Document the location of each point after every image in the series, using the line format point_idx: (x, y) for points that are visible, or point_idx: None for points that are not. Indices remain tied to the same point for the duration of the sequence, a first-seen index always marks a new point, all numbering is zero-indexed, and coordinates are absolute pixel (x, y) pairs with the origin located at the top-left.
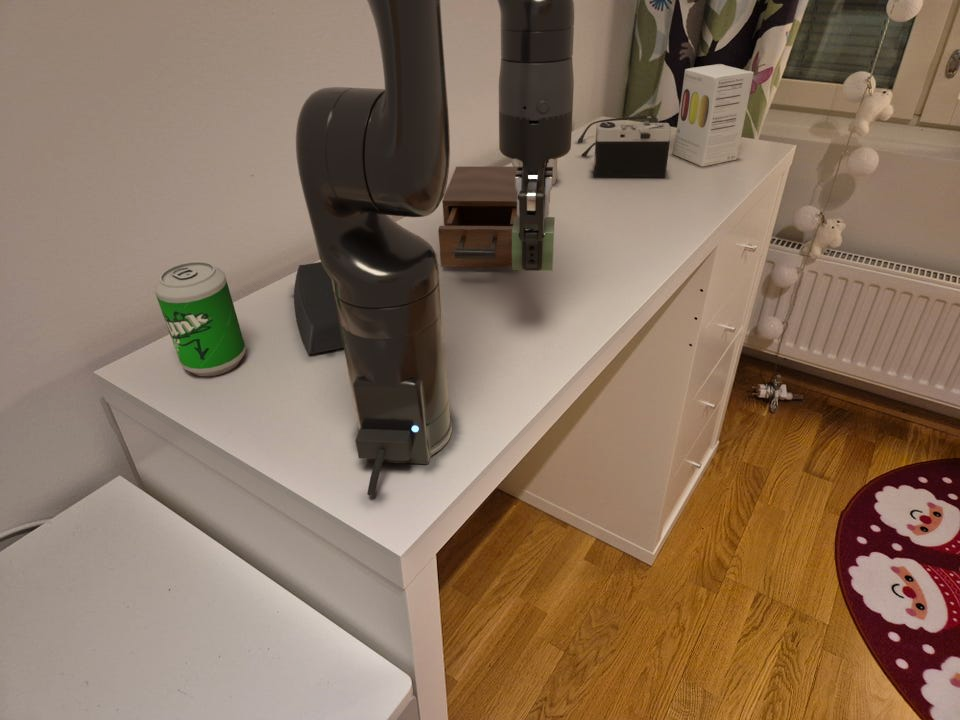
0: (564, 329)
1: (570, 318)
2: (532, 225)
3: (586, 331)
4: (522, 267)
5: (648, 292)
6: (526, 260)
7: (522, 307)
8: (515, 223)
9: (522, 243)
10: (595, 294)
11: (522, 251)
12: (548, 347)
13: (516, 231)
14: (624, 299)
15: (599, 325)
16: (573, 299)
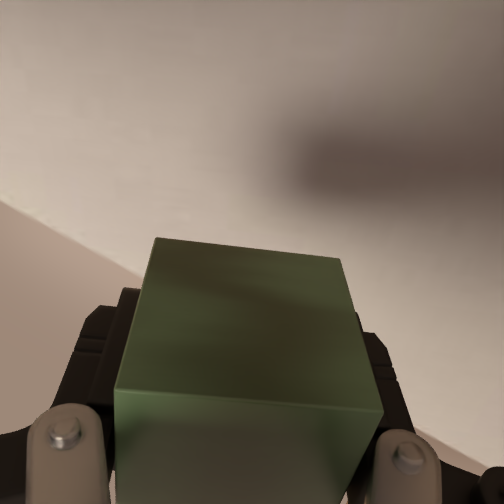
0: (257, 243)
1: None
2: (217, 472)
3: None
4: (124, 289)
5: None
6: (81, 335)
7: (395, 151)
8: (257, 411)
9: (94, 383)
10: (410, 325)
11: (104, 348)
12: (173, 198)
13: (121, 410)
14: None
15: None
16: (401, 280)
